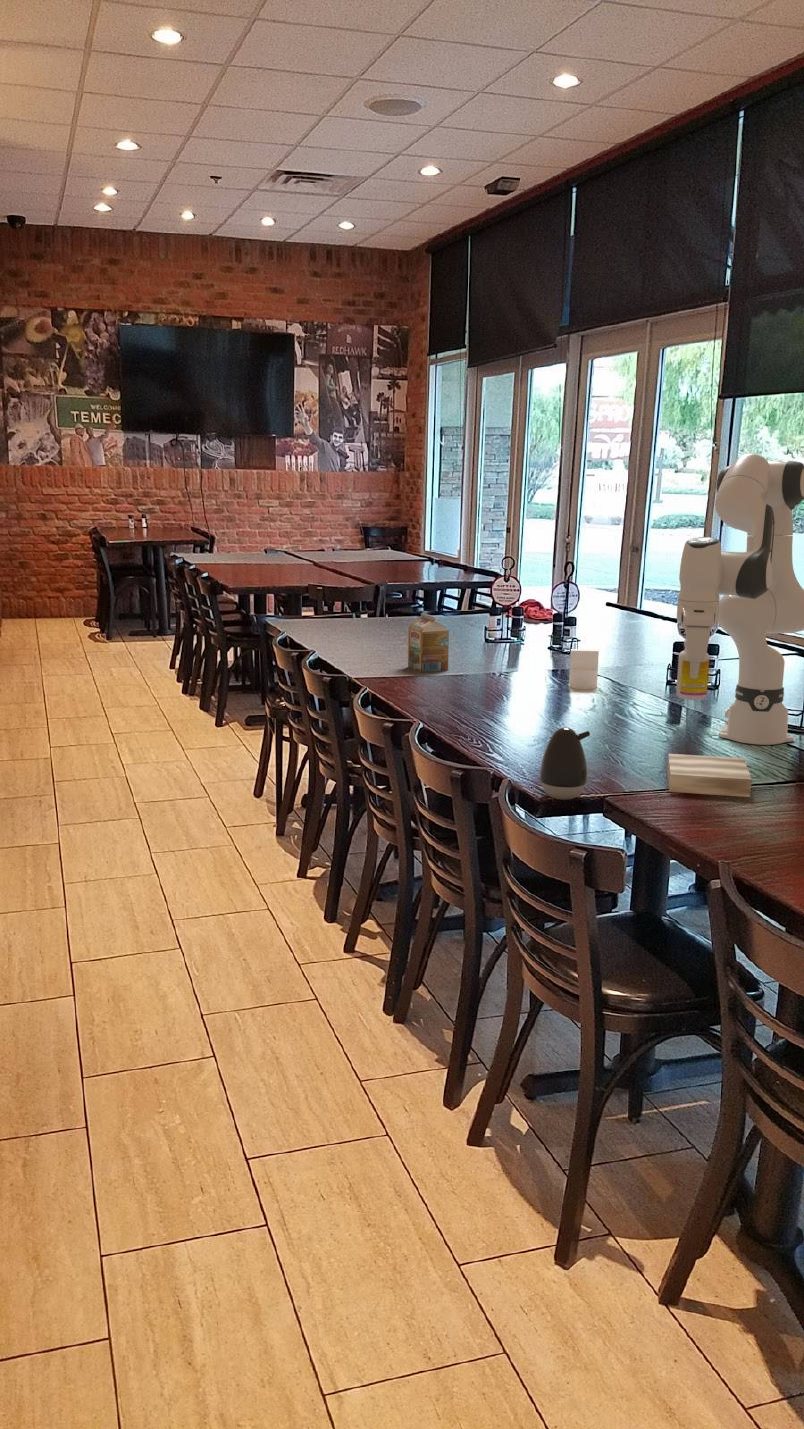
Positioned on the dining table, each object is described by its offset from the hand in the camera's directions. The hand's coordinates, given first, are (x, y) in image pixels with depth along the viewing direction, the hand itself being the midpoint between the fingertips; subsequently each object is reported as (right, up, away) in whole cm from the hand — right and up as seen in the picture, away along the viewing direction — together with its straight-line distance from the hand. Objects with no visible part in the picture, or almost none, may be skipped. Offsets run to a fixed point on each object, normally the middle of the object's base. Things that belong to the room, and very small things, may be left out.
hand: (693, 674), depth 242 cm
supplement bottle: (0, -5, +1) cm, 5 cm away
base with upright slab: (-6, 0, +112) cm, 113 cm away
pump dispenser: (-30, -27, -7) cm, 41 cm away
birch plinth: (+4, -24, +4) cm, 25 cm away
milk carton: (-56, +7, +142) cm, 152 cm away
